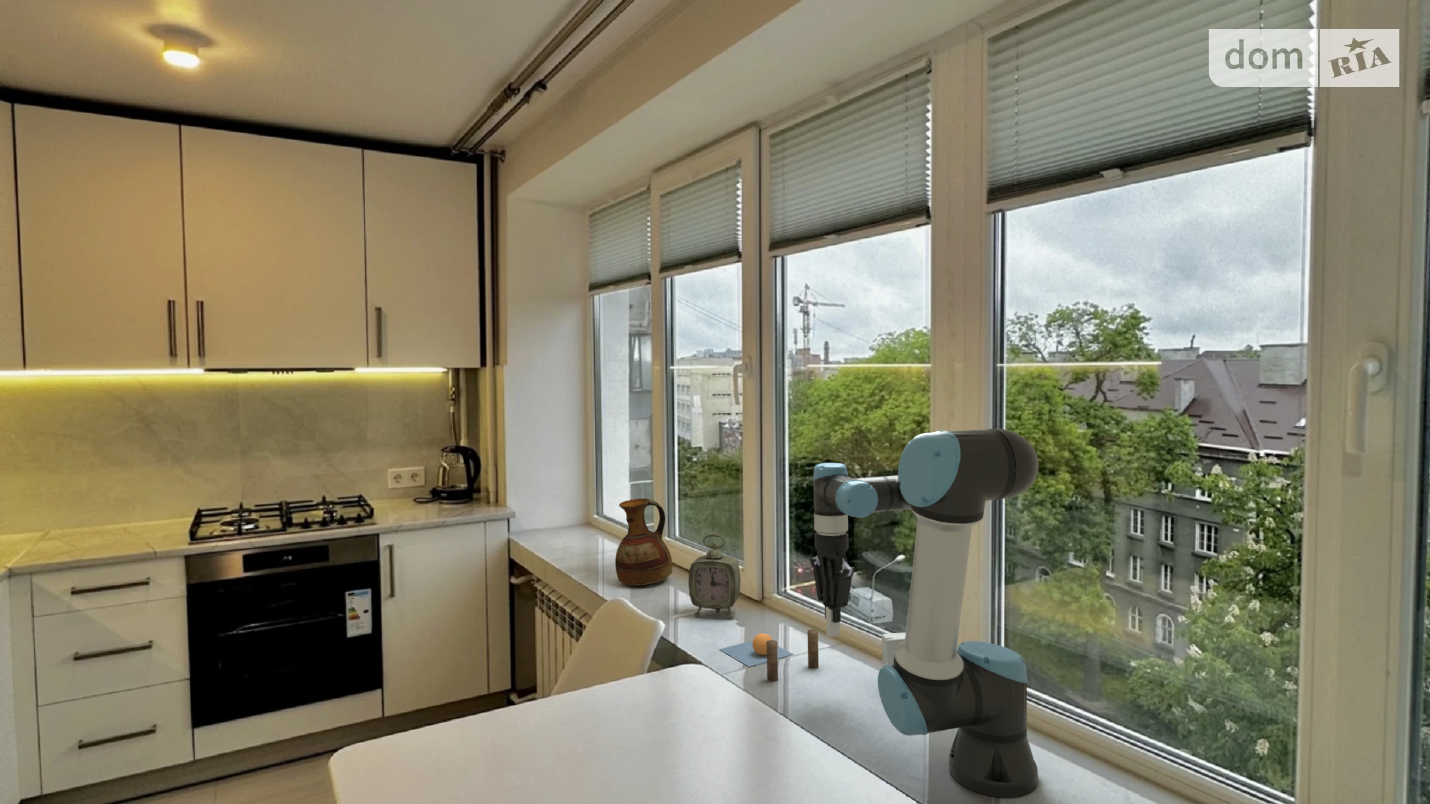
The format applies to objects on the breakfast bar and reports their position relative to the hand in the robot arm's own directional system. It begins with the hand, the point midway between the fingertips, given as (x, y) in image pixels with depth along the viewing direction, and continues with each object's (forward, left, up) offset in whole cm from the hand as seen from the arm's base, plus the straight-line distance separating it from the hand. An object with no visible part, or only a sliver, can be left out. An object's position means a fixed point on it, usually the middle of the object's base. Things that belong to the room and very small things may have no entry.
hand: (833, 634), depth 166 cm
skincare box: (-5, -15, -14) cm, 21 cm away
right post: (+15, -6, -14) cm, 21 cm away
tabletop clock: (+62, -7, -14) cm, 64 cm away
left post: (+15, +6, -14) cm, 21 cm away
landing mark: (+31, 0, -14) cm, 34 cm away
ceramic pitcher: (+107, -5, -14) cm, 108 cm away
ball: (+29, -1, -11) cm, 31 cm away
